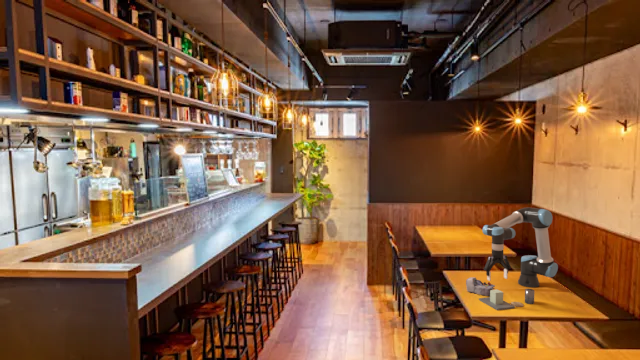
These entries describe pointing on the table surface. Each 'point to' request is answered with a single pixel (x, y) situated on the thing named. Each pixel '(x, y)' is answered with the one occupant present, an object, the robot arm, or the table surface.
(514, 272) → the table surface
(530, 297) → the dark tin
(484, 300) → the slate board
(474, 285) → the cell model
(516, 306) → the cork coaster
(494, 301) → the sage block
